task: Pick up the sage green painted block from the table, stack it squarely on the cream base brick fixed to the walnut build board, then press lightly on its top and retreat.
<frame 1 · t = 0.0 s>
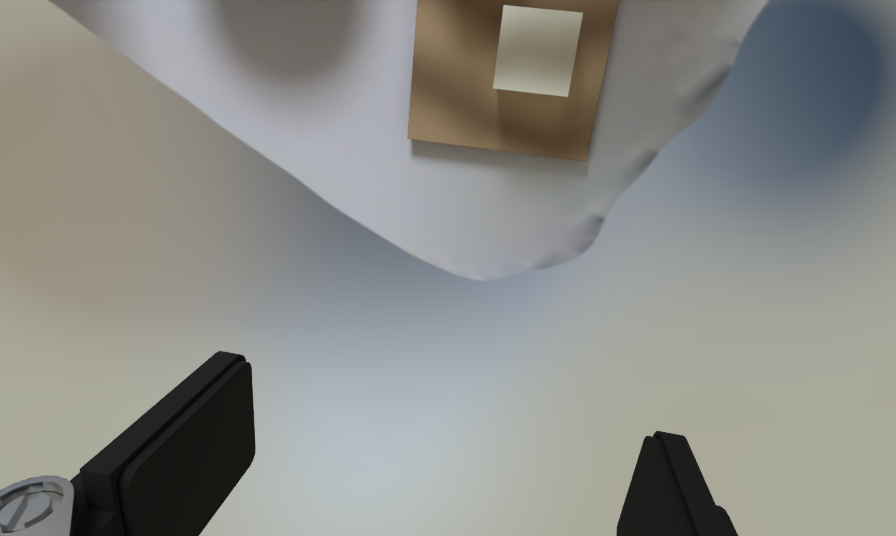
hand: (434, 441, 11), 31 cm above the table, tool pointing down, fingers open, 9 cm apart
build board: (514, 8, 36), on the table
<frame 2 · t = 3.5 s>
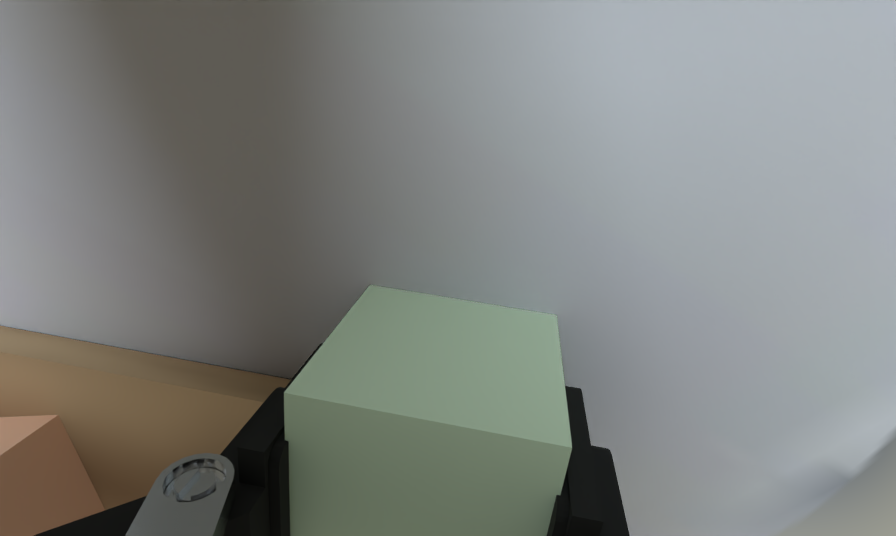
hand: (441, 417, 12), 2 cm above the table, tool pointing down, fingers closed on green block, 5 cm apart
green block: (451, 379, 14), on the table, touching gripper
terracotta block: (27, 480, 16), point 1 cm above the table, touching build board
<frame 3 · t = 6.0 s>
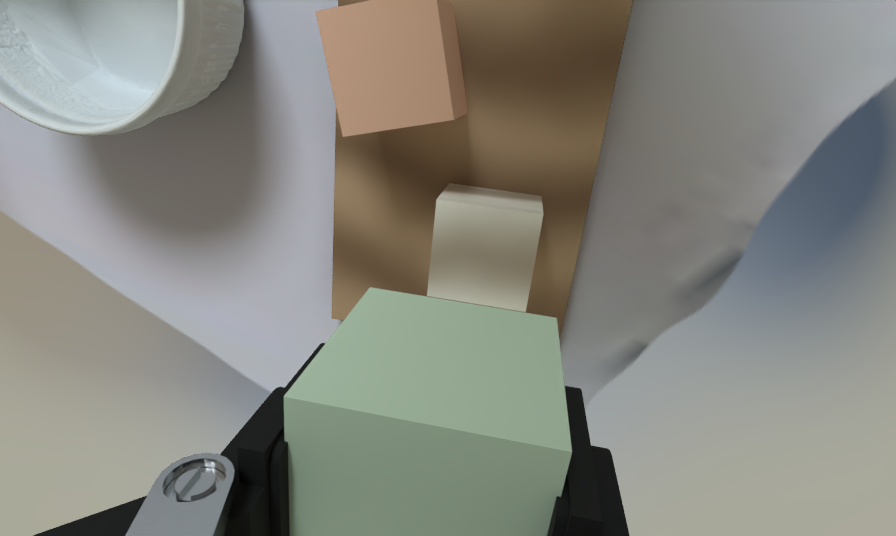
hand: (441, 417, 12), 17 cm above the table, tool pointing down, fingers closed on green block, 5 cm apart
green block: (451, 381, 14), point 16 cm above the table, touching gripper
terracotta block: (412, 69, 25), point 1 cm above the table, touching build board
build board: (462, 171, 28), on the table
ramekin: (157, 1, 27), on the table
when the fingers open (7 cm above the table, at t = 8.3 s): green block stays where it is, resting on build board.
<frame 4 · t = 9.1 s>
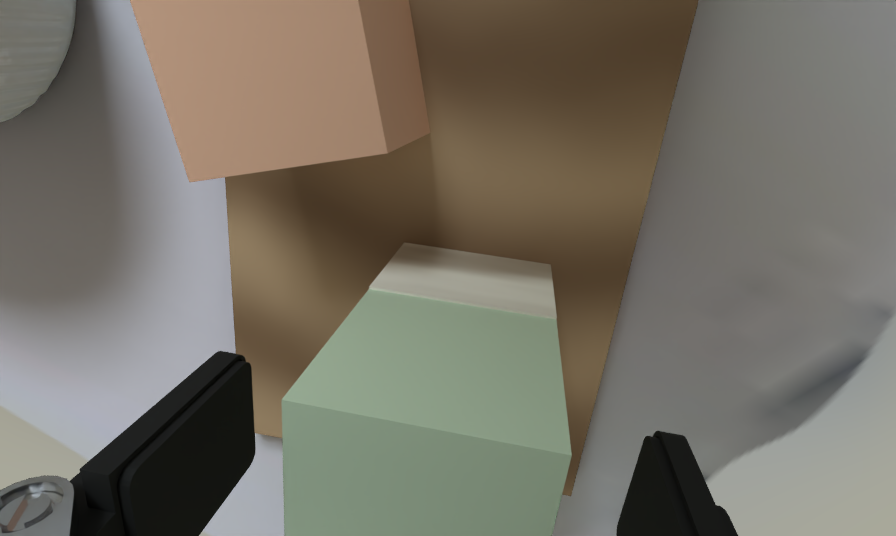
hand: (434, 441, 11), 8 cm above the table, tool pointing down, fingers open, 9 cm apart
green block: (450, 383, 14), point 5 cm above the table, touching build board
terracotta block: (338, 61, 15), point 1 cm above the table, touching build board
build board: (426, 221, 18), on the table
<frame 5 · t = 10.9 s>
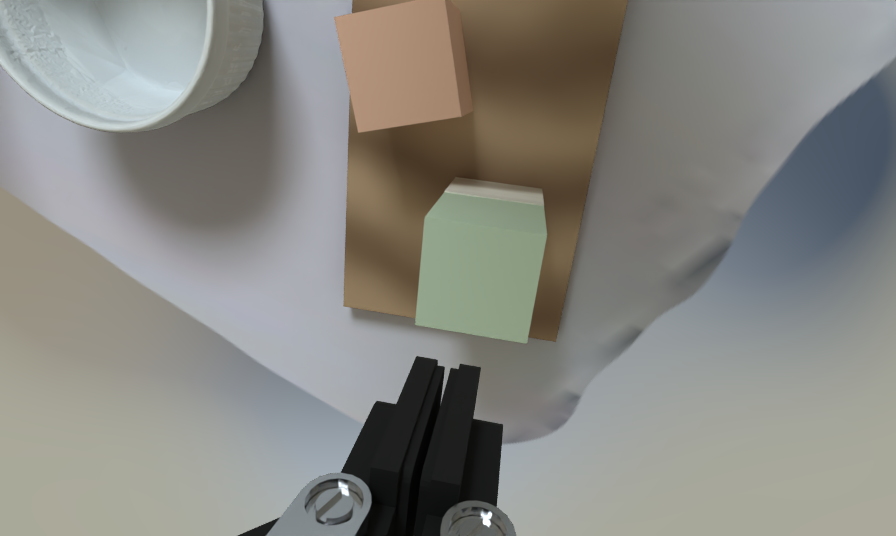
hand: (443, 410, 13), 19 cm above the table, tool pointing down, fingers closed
green block: (486, 246, 25), point 5 cm above the table, touching build board
terracotta block: (421, 70, 27), point 1 cm above the table, touching build board
build board: (467, 166, 29), on the table
ramekin: (181, 7, 29), on the table
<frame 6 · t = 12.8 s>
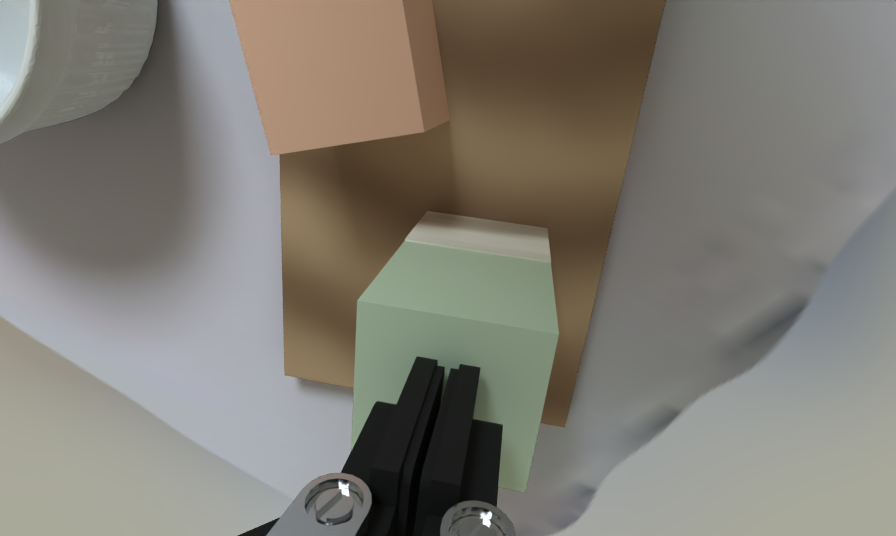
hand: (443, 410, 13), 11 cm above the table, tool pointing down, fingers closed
green block: (467, 317, 17), point 5 cm above the table, touching build board
terracotta block: (376, 62, 19), point 1 cm above the table, touching build board
build board: (444, 194, 21), on the table
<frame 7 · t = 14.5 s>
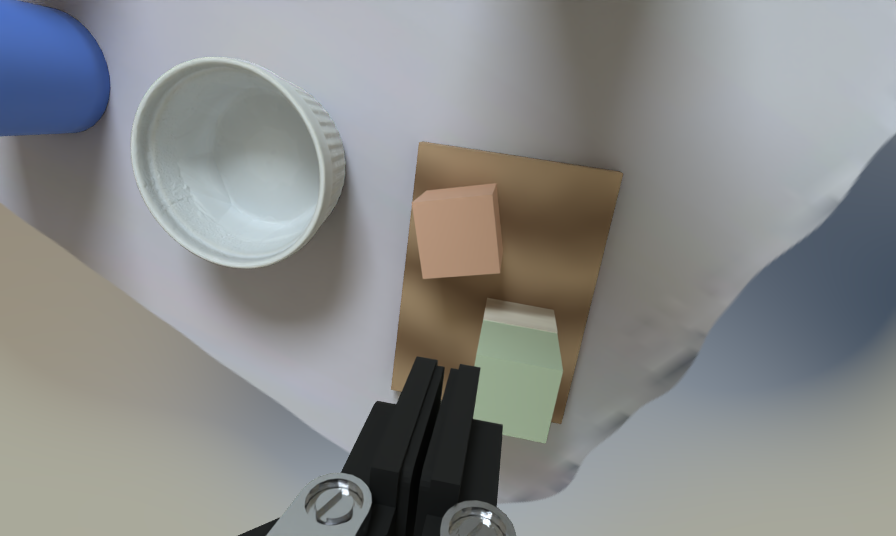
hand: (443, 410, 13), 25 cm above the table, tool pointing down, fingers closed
green block: (513, 359, 34), point 5 cm above the table, touching build board
terracotta block: (465, 221, 35), point 1 cm above the table, touching build board
water bottle: (58, 72, 38), on the table
build board: (495, 287, 38), on the table
ramekin: (278, 160, 38), on the table
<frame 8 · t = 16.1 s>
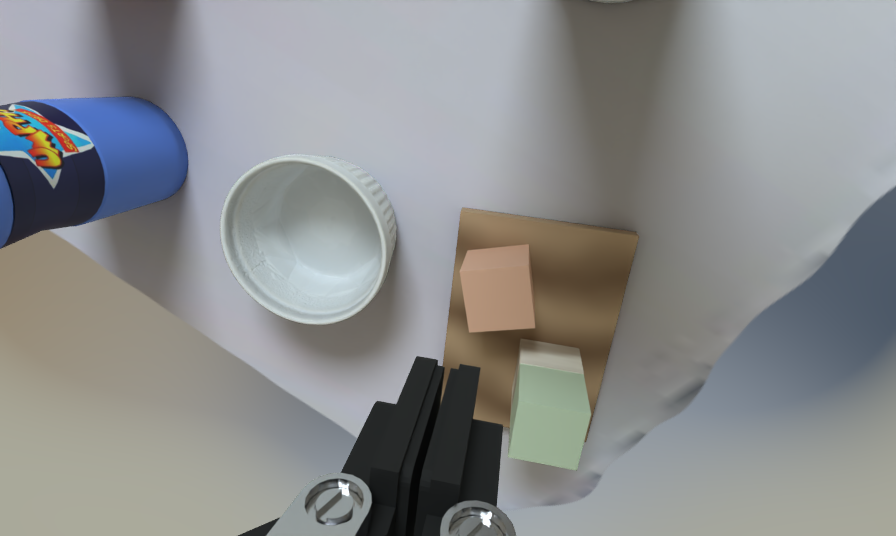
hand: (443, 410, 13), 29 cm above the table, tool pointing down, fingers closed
green block: (546, 395, 40), point 5 cm above the table, touching build board
terracotta block: (501, 275, 41), point 1 cm above the table, touching build board
water bottle: (142, 150, 43), on the table
build board: (527, 328, 43), on the table
ramekin: (336, 222, 43), on the table
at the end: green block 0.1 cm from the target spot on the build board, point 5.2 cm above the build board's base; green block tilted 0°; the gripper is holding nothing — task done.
